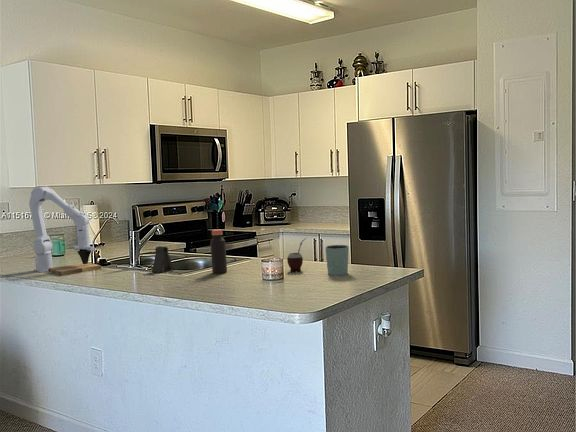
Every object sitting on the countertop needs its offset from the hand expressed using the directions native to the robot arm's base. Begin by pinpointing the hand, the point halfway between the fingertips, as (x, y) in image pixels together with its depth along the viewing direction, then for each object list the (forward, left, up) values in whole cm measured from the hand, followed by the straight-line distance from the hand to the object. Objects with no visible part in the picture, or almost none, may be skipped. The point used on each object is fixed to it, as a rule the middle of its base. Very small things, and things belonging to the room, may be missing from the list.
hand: (85, 263), depth 297 cm
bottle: (+73, +33, -3) cm, 80 cm away
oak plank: (0, -1, -3) cm, 3 cm away
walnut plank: (0, -11, -3) cm, 11 cm away
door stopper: (+44, +20, -3) cm, 49 cm away
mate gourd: (+102, +55, -3) cm, 116 cm away
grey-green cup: (+123, +60, -3) cm, 137 cm away
